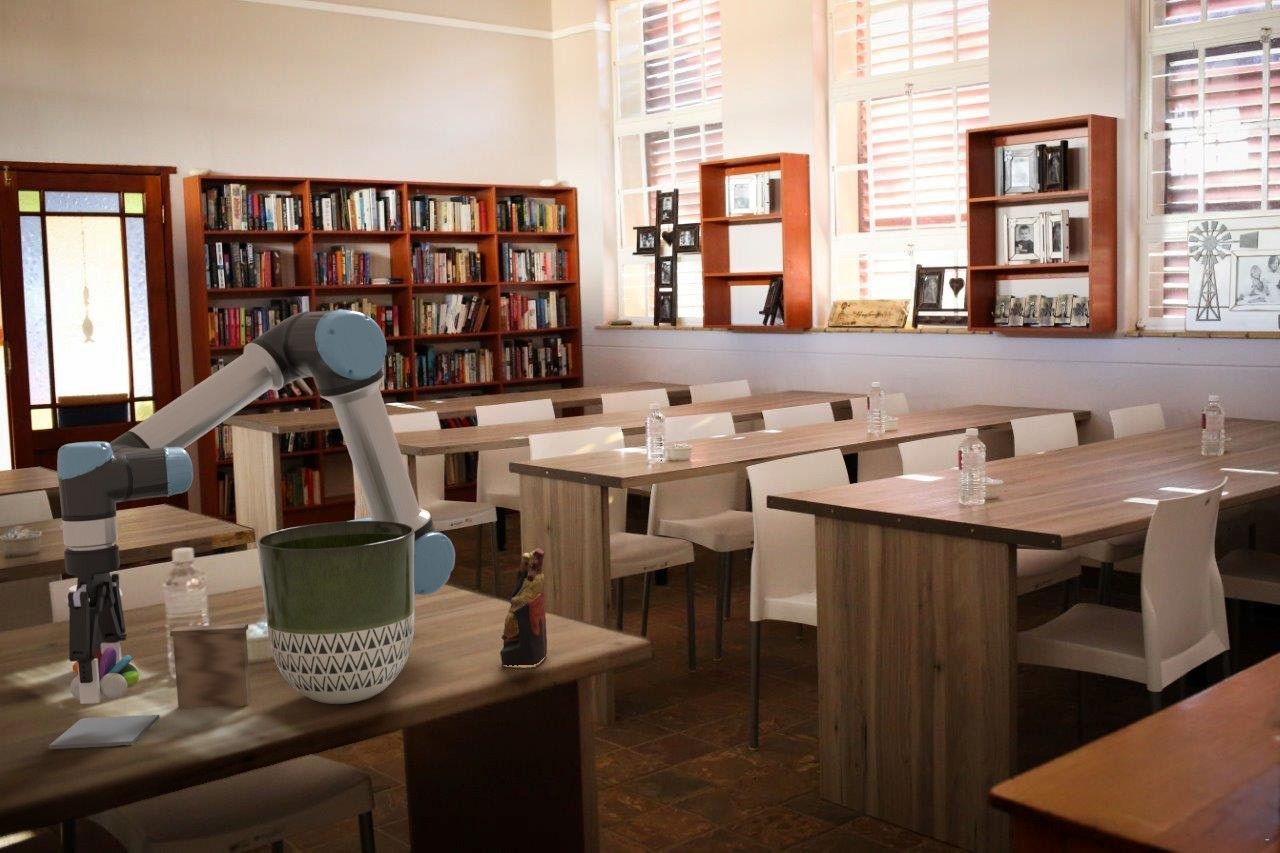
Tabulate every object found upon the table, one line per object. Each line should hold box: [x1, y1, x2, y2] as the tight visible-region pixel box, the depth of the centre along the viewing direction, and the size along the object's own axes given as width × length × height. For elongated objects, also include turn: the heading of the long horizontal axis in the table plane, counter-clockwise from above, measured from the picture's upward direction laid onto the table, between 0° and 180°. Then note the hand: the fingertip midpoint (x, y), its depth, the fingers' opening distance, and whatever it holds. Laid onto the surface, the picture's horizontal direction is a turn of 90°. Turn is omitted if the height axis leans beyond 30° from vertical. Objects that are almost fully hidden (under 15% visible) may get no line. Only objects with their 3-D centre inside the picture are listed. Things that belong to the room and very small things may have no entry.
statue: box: [499, 547, 548, 666], centre depth 220 cm, size 12×8×20 cm, turn 168°
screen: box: [169, 623, 252, 710], centre depth 202 cm, size 12×3×13 cm, turn 93°
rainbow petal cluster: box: [69, 647, 140, 701], centre depth 190 cm, size 8×10×7 cm
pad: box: [48, 714, 160, 750], centre depth 191 cm, size 12×12×1 cm
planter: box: [256, 520, 415, 705], centre depth 203 cm, size 24×24×27 cm
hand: (102, 693), depth 190 cm, fingers closed on rainbow petal cluster, 8 cm apart
